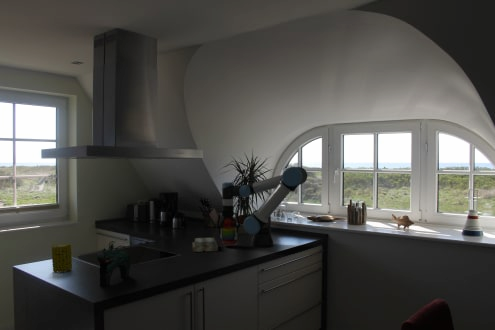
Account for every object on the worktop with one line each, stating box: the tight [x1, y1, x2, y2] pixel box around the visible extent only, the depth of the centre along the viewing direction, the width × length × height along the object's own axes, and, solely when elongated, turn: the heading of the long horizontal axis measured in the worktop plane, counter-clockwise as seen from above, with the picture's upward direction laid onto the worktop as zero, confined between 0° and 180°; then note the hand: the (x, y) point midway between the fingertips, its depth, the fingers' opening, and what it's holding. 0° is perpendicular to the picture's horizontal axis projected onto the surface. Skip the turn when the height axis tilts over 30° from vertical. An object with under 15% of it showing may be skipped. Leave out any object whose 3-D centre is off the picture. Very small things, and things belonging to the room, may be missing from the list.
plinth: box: [192, 237, 219, 253], centre depth 261 cm, size 16×16×6 cm
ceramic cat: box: [97, 240, 131, 287], centre depth 190 cm, size 20×6×20 cm, turn 158°
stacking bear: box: [221, 218, 238, 246], centre depth 267 cm, size 11×10×18 cm
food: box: [51, 243, 73, 273], centre depth 209 cm, size 15×12×10 cm
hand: (228, 237), depth 267 cm, fingers closed on stacking bear, 9 cm apart
